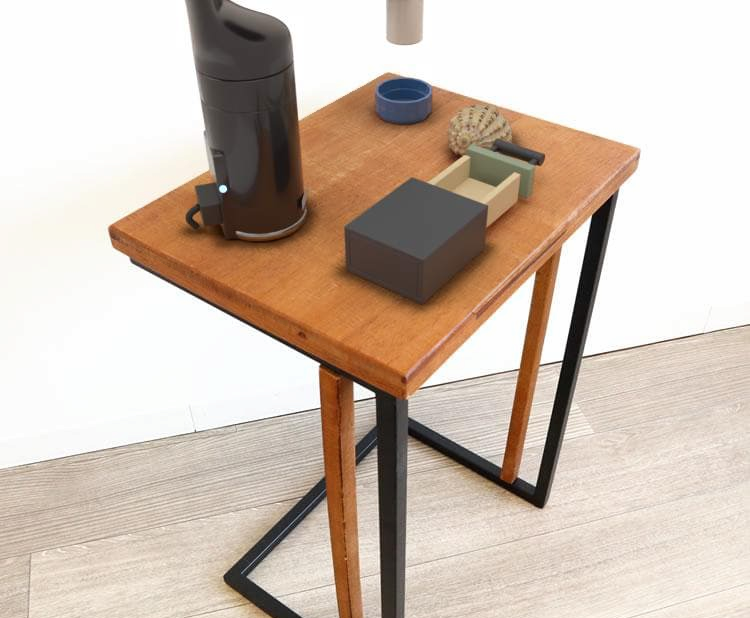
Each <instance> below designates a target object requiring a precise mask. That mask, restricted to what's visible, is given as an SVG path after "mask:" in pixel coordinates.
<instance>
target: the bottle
mask: <svg viewBox="0 0 750 618" xmlns="http://www.w3.org/2000/svg"><path fill="white" fill-rule="evenodd" d="M424 6H425V0H385V39H386V42H388V43H390V44H393V45H395V46H396V45H397V46H413V45H417V44H419V43H421V42H422V41H423V37H424V8H425V7H424Z"/></svg>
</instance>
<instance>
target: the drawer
mask: <svg viewBox="0 0 750 618" xmlns="http://www.w3.org/2000/svg"><path fill="white" fill-rule="evenodd" d="M496 152H499V153H502V154H499V153H496ZM545 159H546V154H545V153H543V152H540V151H537V150H534V149H531V148H528V147H525V146H522V145H518V144H516V143H513V142H512V143H510V142H507V141H504V140H501V139H498V138H497V139H495V141H494V143H493V146H492V147H491V148H490V149H488V150H487V149H484V148H481V147H478V146H475V145H471V146H469V147H468V148H467V149H466V155H464V156H460V158H458V159H457V160H456V161H455V162H452V164H450V165H449V166H448V167H446V168H445V169H444V170H442V172H440V173H438V174H437V175H436V176H434V177H433V178H431V180H429V181H428V182H427V183H429V184H432V185H435V186H437V187H440V188H443V189H445V190H448V191H451V192H453V193H456V194H459V195H461V196H464V197H467V198H469V199H472V200H475V201H477V202H480V203H483V204H486V205H488V215H487V226H486V229H488V227H489V226H491V225H492V224H493V223H494V222H495V221H496V220H497V219H499V218H500V216H502V215H503V214H505V213H506V212H507V211H508V210H509V209H510V208H511V207H513V206H514V205H515V204H516V203H517V202H518V200H519V198H520V199H524V200H528V199H529V198H530V197H532V196H533V189H534V187H533V186H534V181H535V175H536V167H542V166H543V165H544V163H545Z"/></svg>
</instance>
